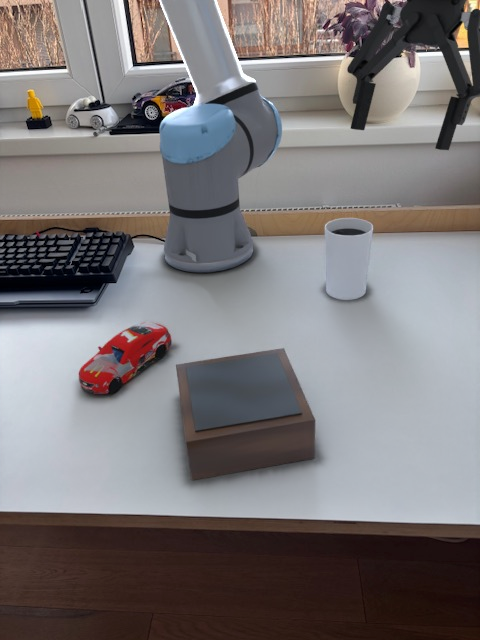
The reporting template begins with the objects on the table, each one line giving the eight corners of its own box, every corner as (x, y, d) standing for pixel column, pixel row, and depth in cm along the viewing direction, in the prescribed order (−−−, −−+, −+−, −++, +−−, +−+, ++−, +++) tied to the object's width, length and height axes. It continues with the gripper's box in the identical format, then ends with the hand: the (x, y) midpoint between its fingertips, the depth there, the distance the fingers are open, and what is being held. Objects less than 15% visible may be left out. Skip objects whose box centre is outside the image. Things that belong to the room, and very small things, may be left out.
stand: (181, 399, 61) (175, 362, 58) (284, 383, 63) (283, 346, 60) (191, 480, 51) (185, 440, 48) (314, 458, 52) (315, 418, 50)
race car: (101, 405, 61) (94, 377, 59) (71, 388, 64) (63, 361, 62) (180, 347, 70) (176, 321, 68) (150, 335, 73) (145, 309, 71)
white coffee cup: (337, 305, 77) (340, 240, 71) (315, 286, 82) (315, 223, 77) (378, 294, 78) (383, 230, 73) (353, 276, 84) (356, 214, 79)
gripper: (558, -26, 63) (493, 159, 72) (375, -32, 78) (340, 123, 87) (539, -44, 58) (471, 158, 67) (347, -46, 72) (312, 120, 81)
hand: (397, 139), depth 77 cm, fingers open, 13 cm apart
